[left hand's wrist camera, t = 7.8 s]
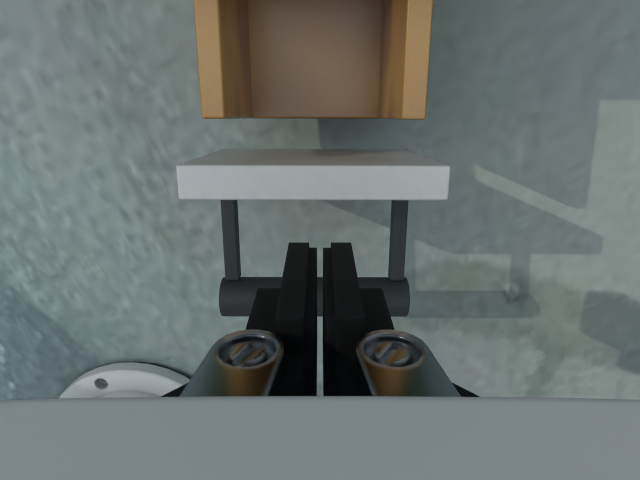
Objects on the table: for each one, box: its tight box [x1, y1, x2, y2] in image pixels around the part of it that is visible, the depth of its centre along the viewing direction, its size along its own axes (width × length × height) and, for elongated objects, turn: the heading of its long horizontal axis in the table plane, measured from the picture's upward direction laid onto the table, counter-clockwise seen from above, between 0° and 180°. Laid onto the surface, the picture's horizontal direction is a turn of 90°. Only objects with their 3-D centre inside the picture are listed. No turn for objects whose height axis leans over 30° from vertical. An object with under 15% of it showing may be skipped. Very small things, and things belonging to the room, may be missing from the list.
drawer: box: [176, 0, 451, 316], centre depth 18 cm, size 20×9×8 cm, turn 0°
